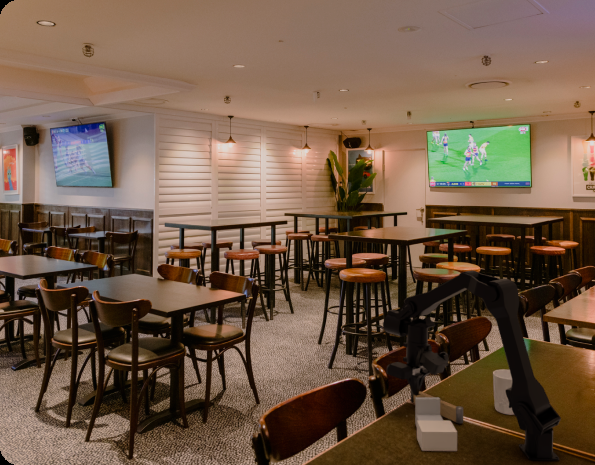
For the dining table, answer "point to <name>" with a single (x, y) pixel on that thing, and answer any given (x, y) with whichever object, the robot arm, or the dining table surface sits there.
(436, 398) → the grey l-shaped block
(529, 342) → the dining table surface
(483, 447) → the dining table surface
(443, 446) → the socket block
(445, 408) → the tan long bar
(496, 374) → the white cup
